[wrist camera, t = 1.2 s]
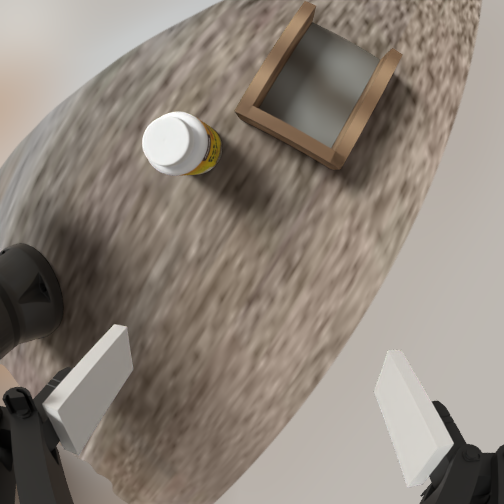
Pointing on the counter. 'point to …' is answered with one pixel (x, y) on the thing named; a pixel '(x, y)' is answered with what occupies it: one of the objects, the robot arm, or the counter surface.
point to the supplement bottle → (181, 145)
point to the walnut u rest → (316, 90)
